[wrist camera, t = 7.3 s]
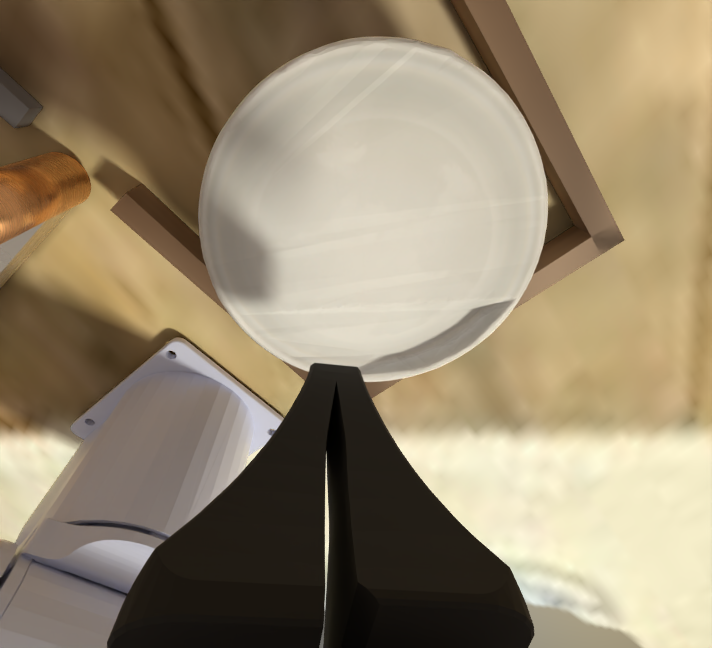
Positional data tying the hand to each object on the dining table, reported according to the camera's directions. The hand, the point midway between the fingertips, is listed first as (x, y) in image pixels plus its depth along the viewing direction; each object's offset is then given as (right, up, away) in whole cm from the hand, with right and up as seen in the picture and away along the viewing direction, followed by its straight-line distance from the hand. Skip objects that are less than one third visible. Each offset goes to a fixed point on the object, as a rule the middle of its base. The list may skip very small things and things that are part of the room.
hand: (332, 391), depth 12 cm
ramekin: (+1, +7, +6) cm, 9 cm away
